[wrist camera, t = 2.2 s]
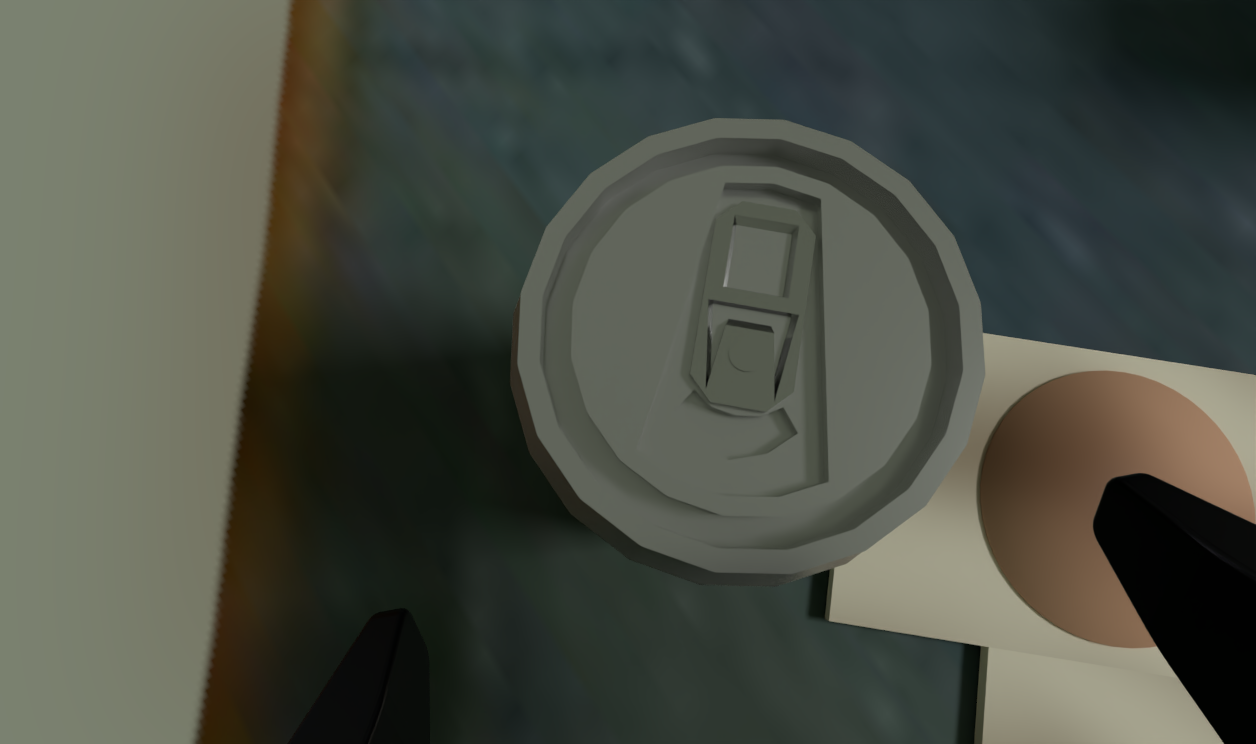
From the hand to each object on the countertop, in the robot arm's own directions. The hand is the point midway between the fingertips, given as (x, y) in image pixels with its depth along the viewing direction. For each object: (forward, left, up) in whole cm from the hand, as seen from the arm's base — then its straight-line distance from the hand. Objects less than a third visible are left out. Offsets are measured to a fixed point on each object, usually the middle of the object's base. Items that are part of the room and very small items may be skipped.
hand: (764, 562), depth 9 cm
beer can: (+2, +1, -10) cm, 10 cm away
